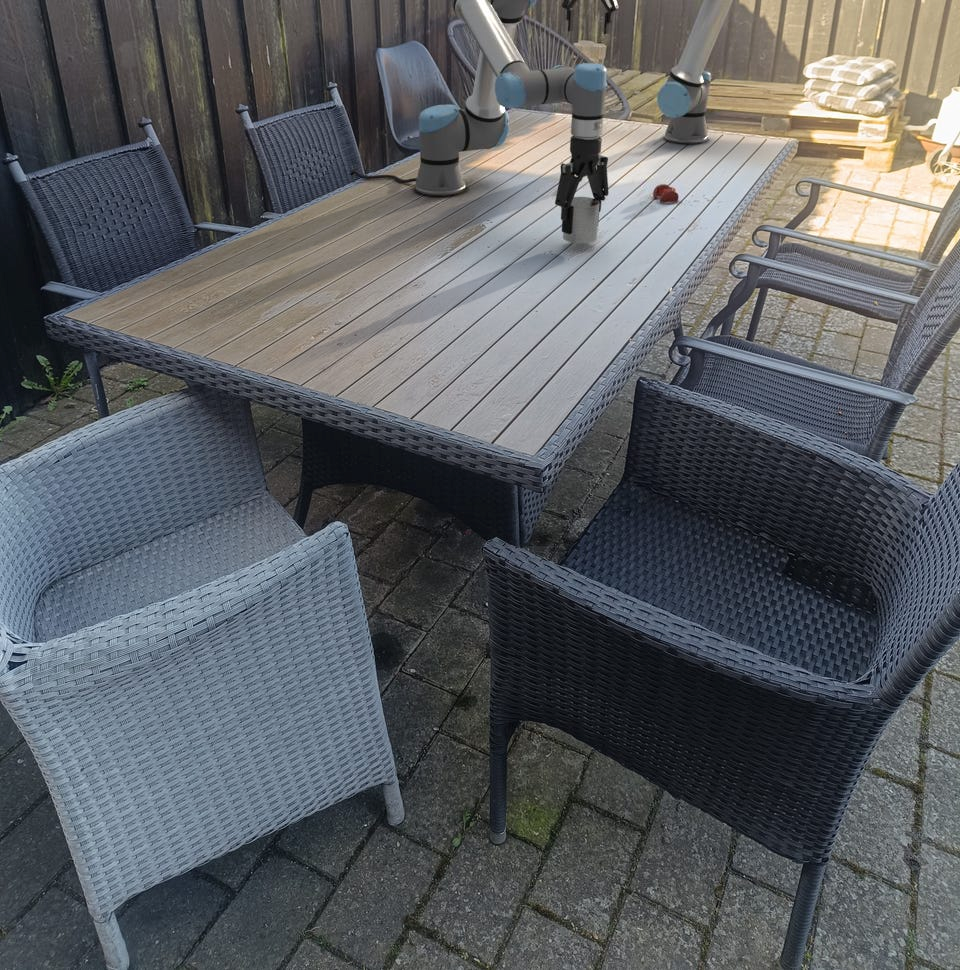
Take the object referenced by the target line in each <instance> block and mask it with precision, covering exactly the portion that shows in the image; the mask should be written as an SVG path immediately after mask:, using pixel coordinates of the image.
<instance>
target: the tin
mask: <svg viewBox="0 0 960 970" xmlns="http://www.w3.org/2000/svg"><path fill="white" fill-rule="evenodd" d="M566 203H567V201H566ZM570 207H571V208H573V210H572V226H571V234H567V233H564V232H562V239H563V240H564V241H566V242H568V243H573V244H589V243H593V242H596V240H597V238H598V227H599V222H598V214H599V215H600V212H599V201H598V200H596V199H594V197H590V196H574V198H573V200H572V203H571V206H570Z"/></svg>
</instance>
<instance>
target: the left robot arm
mask: <svg viewBox="0 0 960 970" xmlns="http://www.w3.org/2000/svg"><path fill="white" fill-rule="evenodd" d="M536 3H537V0H450V4H451V7H452V9H453V12H454V13H455V15H456V17H457V18H458V20H460V22H463V23H465V25H466V26H467V27H468V30H469V31H470V34H471V35H472V37H473V39H474V41H475V42H476V44H477V46H478V47H479V54H478V59H477V60H478V61H477V65H476V70H475V71H476V72H475V78H474V84H473V89H472V94H471V95H469V96H468V97H467V98H466V100H465V106H464V108H462V109H459V108H458V106H457V105H455V104H449V103H448V104H438V105H433V106H430V107H427V108H425V109H424V110H422V111H421V112H420V114H419V116H418V118H419V119H418V120H419V121H418V136H419V138H418V139H419V157H420V158H419V159H420V161H419V162H420V164H419V168H418V172H417V176H416V177H414V178H408V179H403V178H400V177H398V176H396V175H394V174H375V175H364V174H361V173H360V172H359V171H358V170H355V169H353V170H351V171H350V172H349V176H353V175H357V176H358V177H359V178H361V179H363V180H377V179H392V180H395V181H397V182H399V183H402V184H408V183H414V182H415V185H414V186H415V192H417V193H418V194H420V195H424V196H430V197H450V196H455V195H459V194H461V193H463V192H464V191H466V181H465V179H464V172H462V169H461V165H460V153H462V152H463V153H464V152H470V151H479V150H491V149H494V148H498V147H500V146H502V145H503V144H504V143H505V141H506V140H507V137H508V134H509V131H510V130H509V129H510V124H509V122H510V119H509V118H510V117H509V114H508V111H507V110H506V108H514V109H517V108H523V107H531V106H538V105H539V106H540V105H550V104H551V105H552V104H561V103H567V104H569V105H571V107H572V108H571V123H570V124H571V125H570V134H571V137H570V140H569V141H570V142H569V152H570V154H571V156H570V157H571V158H570V161H569V162H567V163H564V162H562V163H560V175H559V181H558V185H557V191H556V194H555V195H556V196H555V200H554V205H555V206H558V207H560V208H561V209H560V220H561V233H563V232H564V233H567V234H571V226H572V210H573V208H571V207H570V206H571V203H572V200H573V198H574V197H575V195H576V192H577V191H578V190H577V189H578V187H579V185H580V183H581V182H582V181H583V178H585V177H587V180H588V184H589V187H590V190H591V193H592V198H594V199H596V200H598V201H599V214H598V223H599V221H600V220H599V219H600V213H601V210H602V202H604V201H605V200H606V197H608V196H609V179H608V161H609V157H608V156H604V155H601V152H602V141H603V140H602V139H603V138H602V137H601V136H602V135H603V130H604V129H603V127H604V114H605V105H606V93H607V86H608V83H607V71H608V70H607V68H606V66H605V65H603V64H601V63H592V62H589V63H588V62H587V63H586V62H585V63H579V64H577V65H576V66H575V68H573V66H570V65H562V64H561V65H560V64H558V65H555V66H553V67H551V68H548V69H547V68H546V69H537V70H530V68H529V66H528V65H527V63H526V62H525V60H524V58H523V57H522V55H521V53H520V52H519V50H518V48H517V47H516V45H515V43H514V38H515V35H516V29H517V25H518V24H520V23H521V22H522V21H523V20H524V19H525V18H524V17H525V13H526V9H531V8H533V7H534V6H535V5H536ZM566 201H567V203H566Z"/></svg>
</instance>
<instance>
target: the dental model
mask: <svg viewBox="0 0 960 970" xmlns="http://www.w3.org/2000/svg"><path fill="white" fill-rule="evenodd" d="M652 198H659V203H671V202H672V203H673V202H678V201H679V193H678V192H677V189H676V188H674V187H673V186H670V185H669V184H666V183H663V184H662V183H661V184H658V185H656V187H655V188H654V189H653V192H652Z"/></svg>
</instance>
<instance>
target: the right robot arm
mask: <svg viewBox="0 0 960 970" xmlns="http://www.w3.org/2000/svg"><path fill="white" fill-rule="evenodd" d="M578 1H579V0H563V1H562V3H561V7H562V8H564V9H565V10H566V15H565V16H566V18H565V19H566V21H568V23H567V32H569V33H570V32H573V31H574V21H575V20H574V19H575V9H573V8H574V7H575V6H576V4H577V3H578ZM600 2H601V3H602V5H603V6H604V8H605V10H606V11H607V12H605V13H604V24H603V26H604V27H603V35H608V34H609V32H610V24H612V22H613V16H614V12H616V11H618V10H619V8H620V7H619V4H618V1H617V0H600ZM733 2H734V0H703V2H702V4H701V6H700V9H699V12H698V14H697V16H696V19H695V22H694V24H693V27H692V29H691V32H690V34H689V35H688V39H687V41H686V44H685V46H684V48H683V52H682V54H681V56H680V59H679V61H678V63H677V65H675V66H674V67H671V70H670V71H669V72H670V73H669V75H668V77H667V80H666V81H665V83H664V84H663V85H662V86H661V87H660V89H659V90H658V93H657V95H656V96H657V97H656V102H657V106H658V110H660V112H661V113H662V114H663V115H664V116H665V117H668V118H670V120H669V123H668V124H667V128H666V130H665V133H664V140H666V141H668V142H671V143H676V144H684V145H685V144H686V145H693V144H694V145H695V144H701V143H705V142H707V141H708V129H709V126H707V122H706V121H707V120H706V113H707V108H708V100H709V94H710V86H711V83H712V81H711V80H712V79H711V78H712V75H711V72H709V71H706V70H705V67H706V65H707V62H708V60H709V58H710V56H711V53H712V51H713V48H714V46H715V44H716V42H717V39H718V37H719V34H720V31H721V29H722V27H723V25H724V23H725V20H726V18H727V15H728V13H729V11H730V8H731V6H732V3H733Z"/></svg>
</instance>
